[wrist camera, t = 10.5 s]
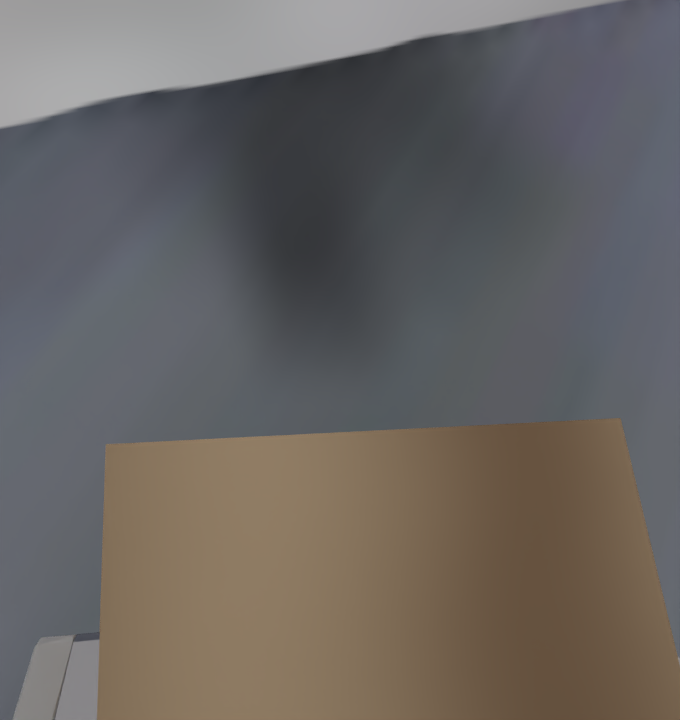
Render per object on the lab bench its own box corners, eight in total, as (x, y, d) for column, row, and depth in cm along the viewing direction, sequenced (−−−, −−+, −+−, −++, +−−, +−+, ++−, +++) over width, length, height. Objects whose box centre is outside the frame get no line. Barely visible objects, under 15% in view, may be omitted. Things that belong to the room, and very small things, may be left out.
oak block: (179, 807, 14) (78, 1239, 5) (178, 529, 16) (106, 444, 7) (438, 768, 15) (772, 1055, 6) (407, 511, 17) (620, 417, 8)
